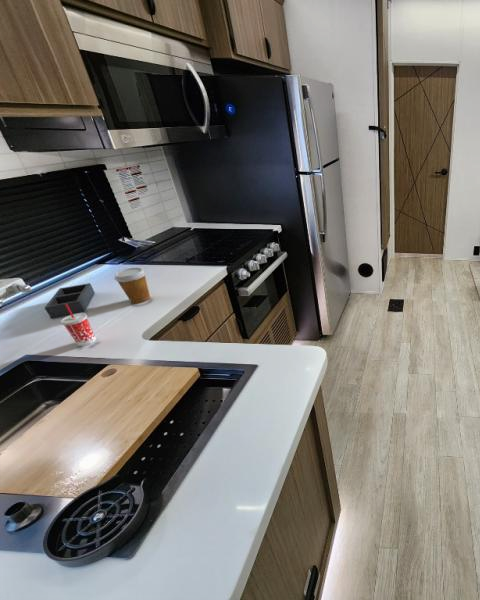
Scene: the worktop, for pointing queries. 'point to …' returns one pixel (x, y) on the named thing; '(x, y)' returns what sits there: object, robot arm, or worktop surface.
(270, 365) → the worktop surface
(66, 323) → the beverage cup
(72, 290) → the box
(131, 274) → the disposable coffee cup
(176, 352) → the worktop surface
